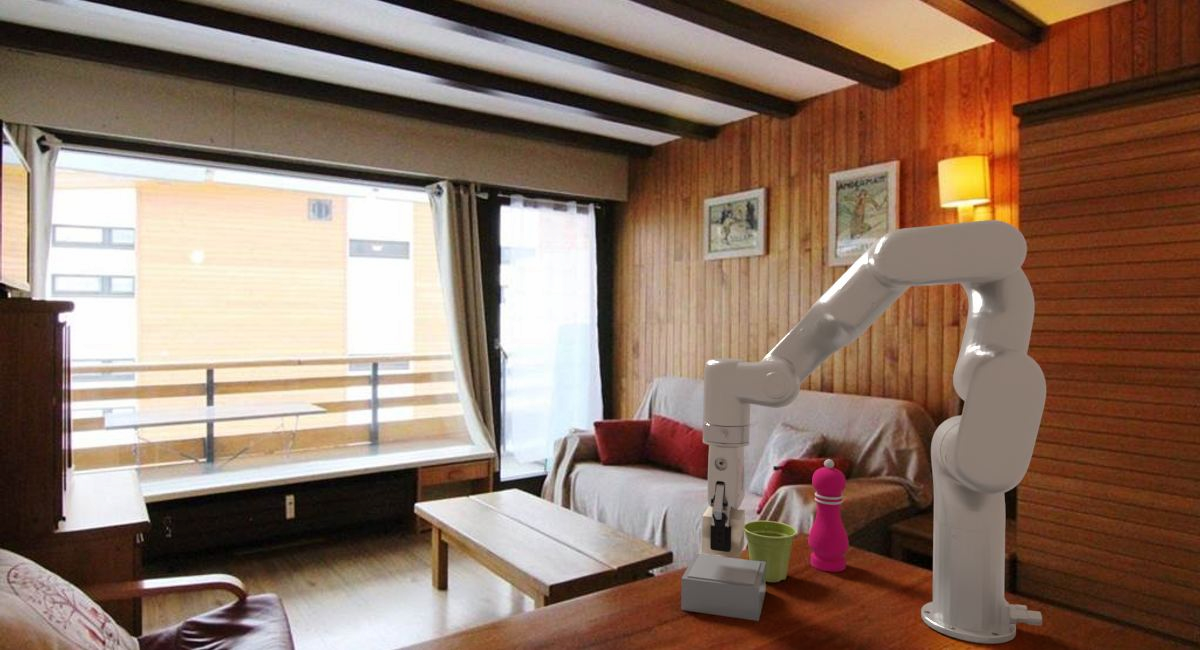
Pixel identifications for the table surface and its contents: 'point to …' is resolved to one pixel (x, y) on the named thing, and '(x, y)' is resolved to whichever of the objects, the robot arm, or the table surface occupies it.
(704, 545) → the birch block
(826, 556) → the pepper mill
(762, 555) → the plant pot
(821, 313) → the robot arm
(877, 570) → the table surface
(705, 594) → the slate stand
